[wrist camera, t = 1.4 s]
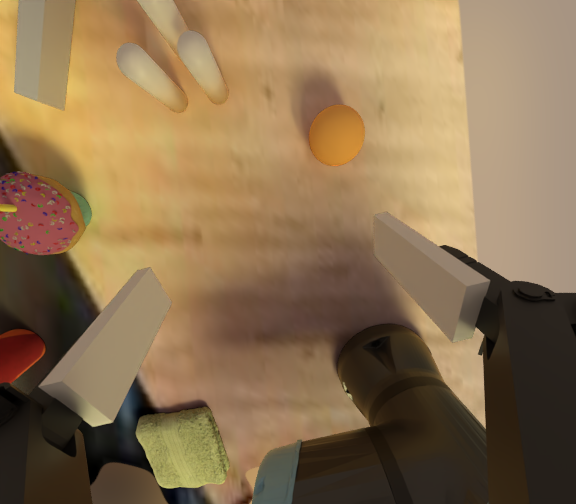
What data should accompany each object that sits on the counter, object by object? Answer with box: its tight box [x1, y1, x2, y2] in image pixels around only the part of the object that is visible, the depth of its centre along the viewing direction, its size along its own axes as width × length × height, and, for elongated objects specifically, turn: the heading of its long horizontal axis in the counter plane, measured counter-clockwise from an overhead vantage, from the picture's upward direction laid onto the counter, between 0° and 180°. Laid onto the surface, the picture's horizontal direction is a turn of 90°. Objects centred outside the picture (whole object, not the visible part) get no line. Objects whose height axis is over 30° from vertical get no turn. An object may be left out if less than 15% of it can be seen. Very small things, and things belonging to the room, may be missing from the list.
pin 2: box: [116, 43, 188, 113], centre depth 21 cm, size 2×2×8 cm
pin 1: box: [137, 0, 189, 62], centre depth 20 cm, size 2×2×8 cm
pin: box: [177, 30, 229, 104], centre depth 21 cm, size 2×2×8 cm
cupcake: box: [0, 171, 92, 255], centre depth 22 cm, size 9×8×12 cm
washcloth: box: [136, 407, 230, 488], centre depth 40 cm, size 13×18×3 cm
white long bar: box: [14, 0, 76, 111], centre depth 21 cm, size 2×16×3 cm, turn 159°
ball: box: [309, 105, 365, 166], centre depth 25 cm, size 6×6×6 cm
